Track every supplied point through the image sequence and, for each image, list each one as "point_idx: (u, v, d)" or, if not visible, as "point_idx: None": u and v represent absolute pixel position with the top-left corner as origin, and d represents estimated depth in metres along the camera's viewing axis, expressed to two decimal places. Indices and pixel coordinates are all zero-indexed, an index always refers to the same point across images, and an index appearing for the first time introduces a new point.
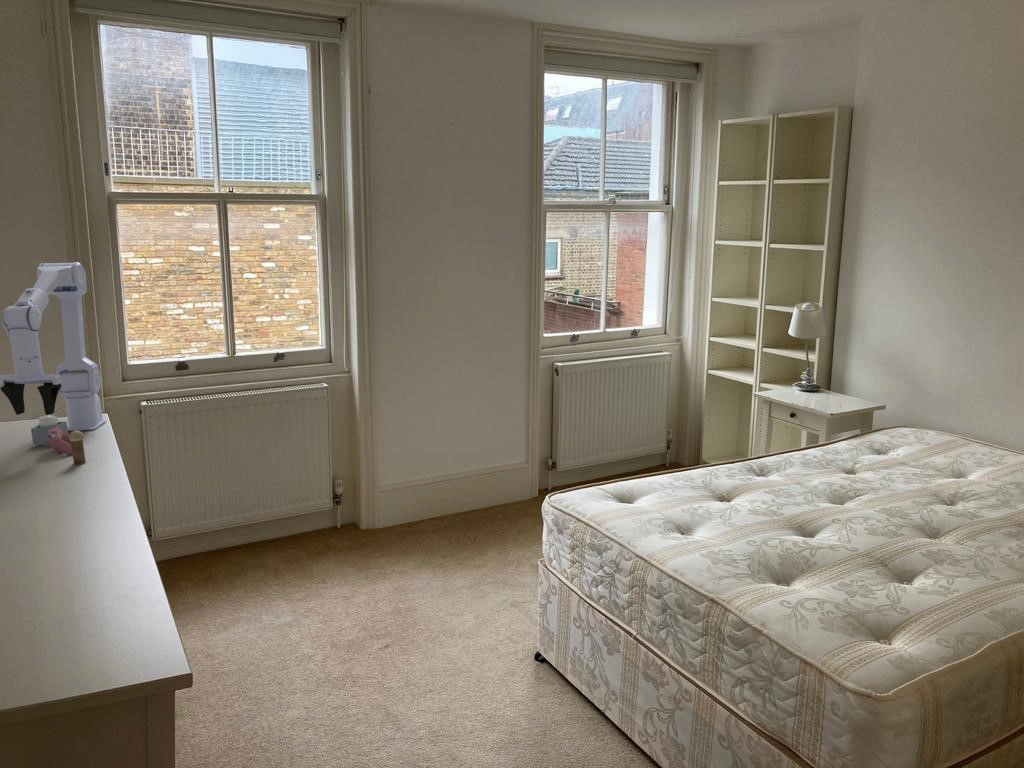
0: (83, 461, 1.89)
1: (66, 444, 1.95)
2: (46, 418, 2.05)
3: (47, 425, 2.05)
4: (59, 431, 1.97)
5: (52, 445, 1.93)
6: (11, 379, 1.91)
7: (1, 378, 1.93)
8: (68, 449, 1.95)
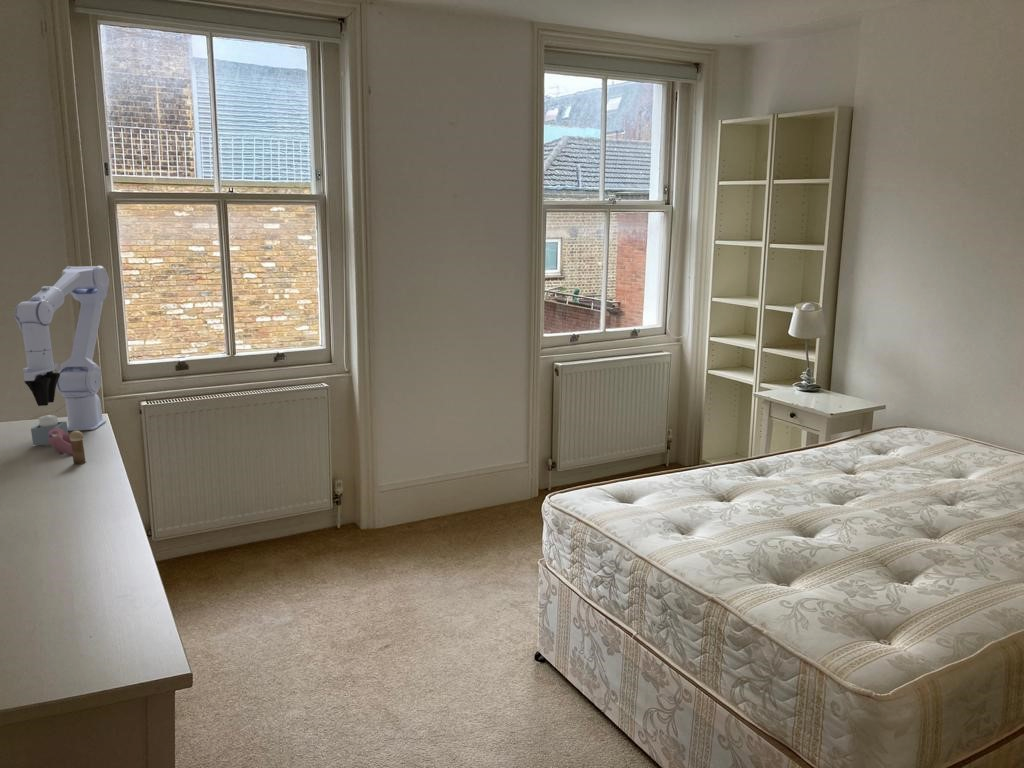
0: (83, 461, 1.89)
1: (67, 444, 1.95)
2: (46, 418, 2.05)
3: (47, 425, 2.05)
4: (60, 431, 1.97)
5: (53, 445, 1.94)
6: None
7: None
8: (69, 449, 1.95)
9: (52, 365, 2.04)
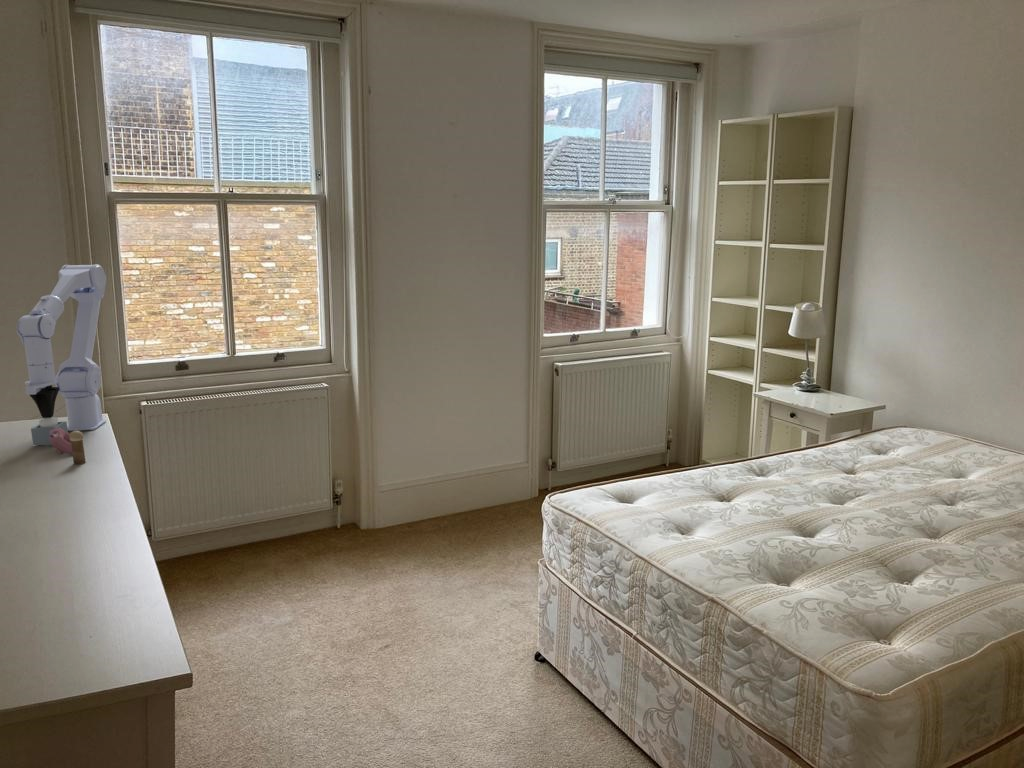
0: (83, 461, 1.89)
1: (68, 444, 1.95)
2: (46, 420, 2.05)
3: None
4: (61, 431, 1.97)
5: (54, 445, 1.94)
6: None
7: None
8: (70, 449, 1.95)
9: (54, 378, 2.04)
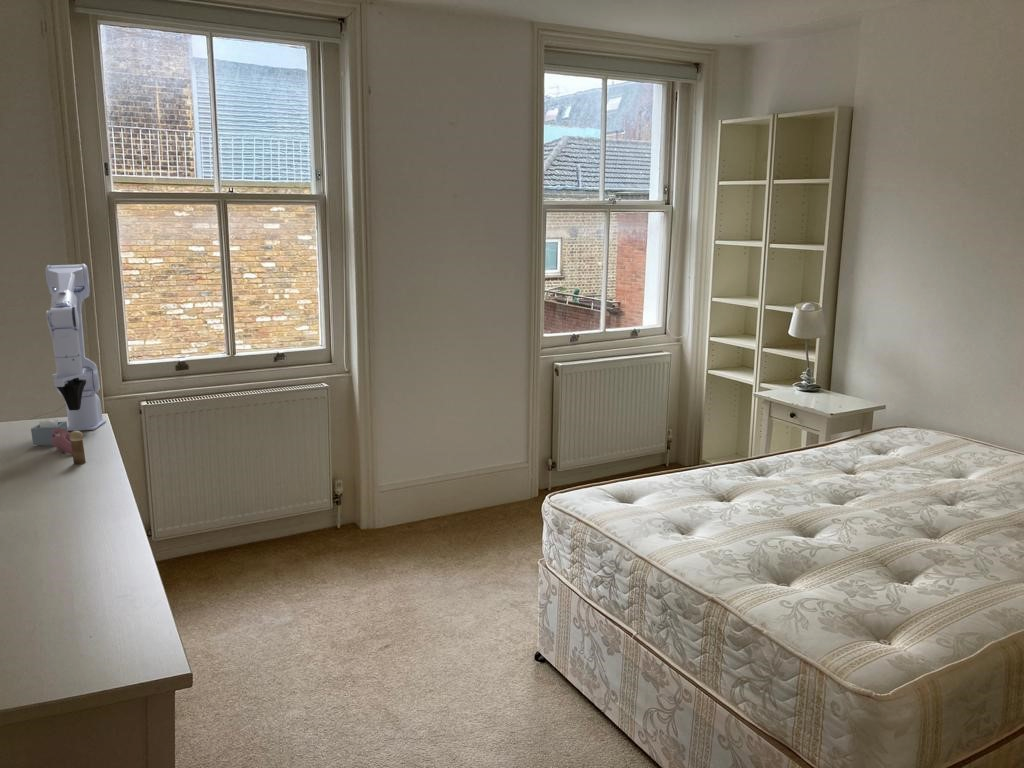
0: (83, 461, 1.89)
1: (70, 443, 1.95)
2: (47, 422, 2.05)
3: None
4: (63, 430, 1.97)
5: (56, 444, 1.94)
6: None
7: None
8: None
9: (81, 371, 2.04)
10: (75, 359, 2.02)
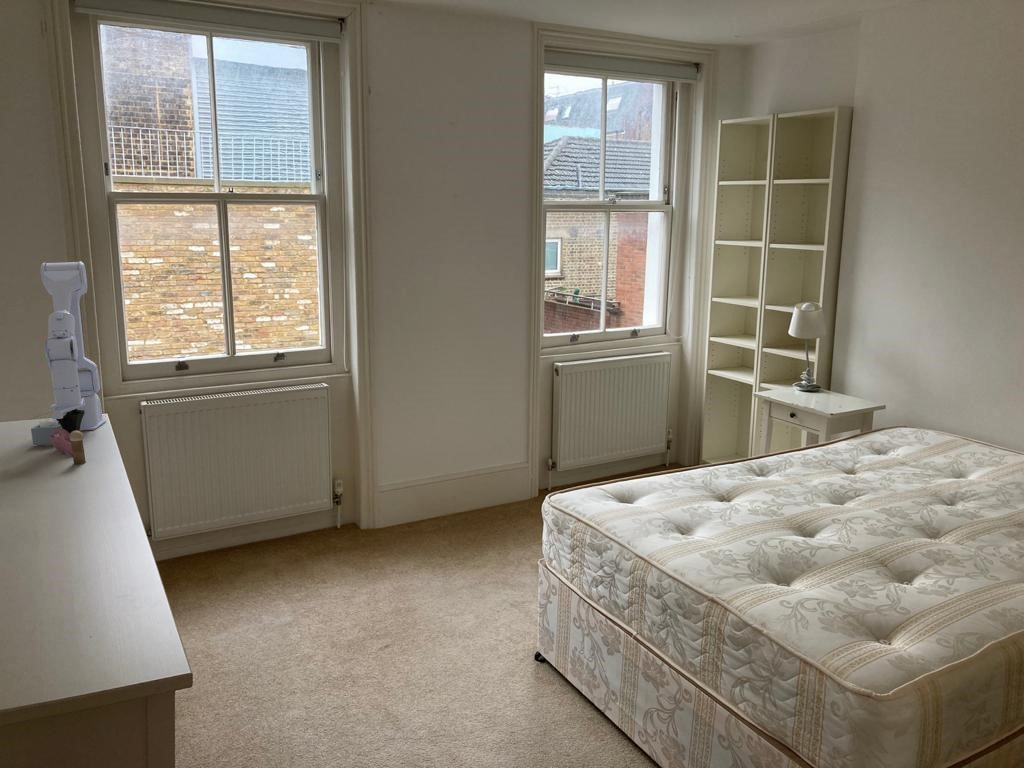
0: (83, 461, 1.89)
1: (69, 444, 1.94)
2: (47, 422, 2.05)
3: None
4: (62, 431, 1.97)
5: (55, 445, 1.93)
6: None
7: None
8: (71, 449, 1.94)
9: (80, 402, 2.02)
10: (74, 390, 2.00)
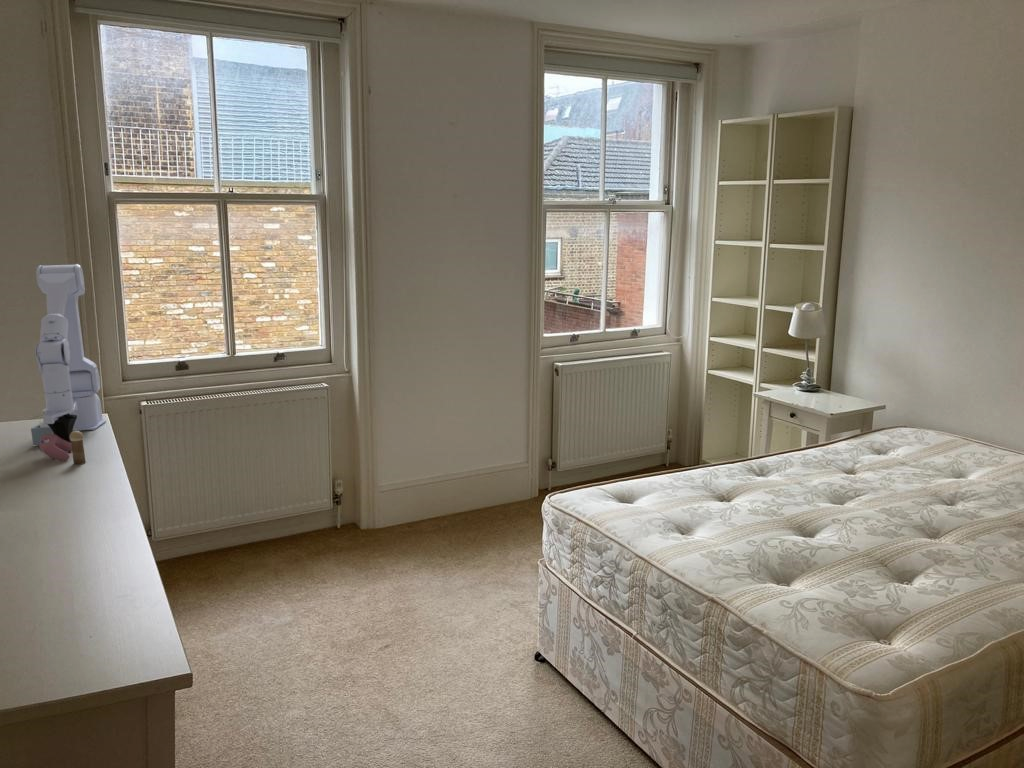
0: (83, 461, 1.89)
1: (59, 450, 1.89)
2: None
3: None
4: (53, 436, 1.92)
5: (44, 451, 1.88)
6: None
7: None
8: (61, 455, 1.90)
9: (72, 406, 1.97)
10: (65, 394, 1.95)
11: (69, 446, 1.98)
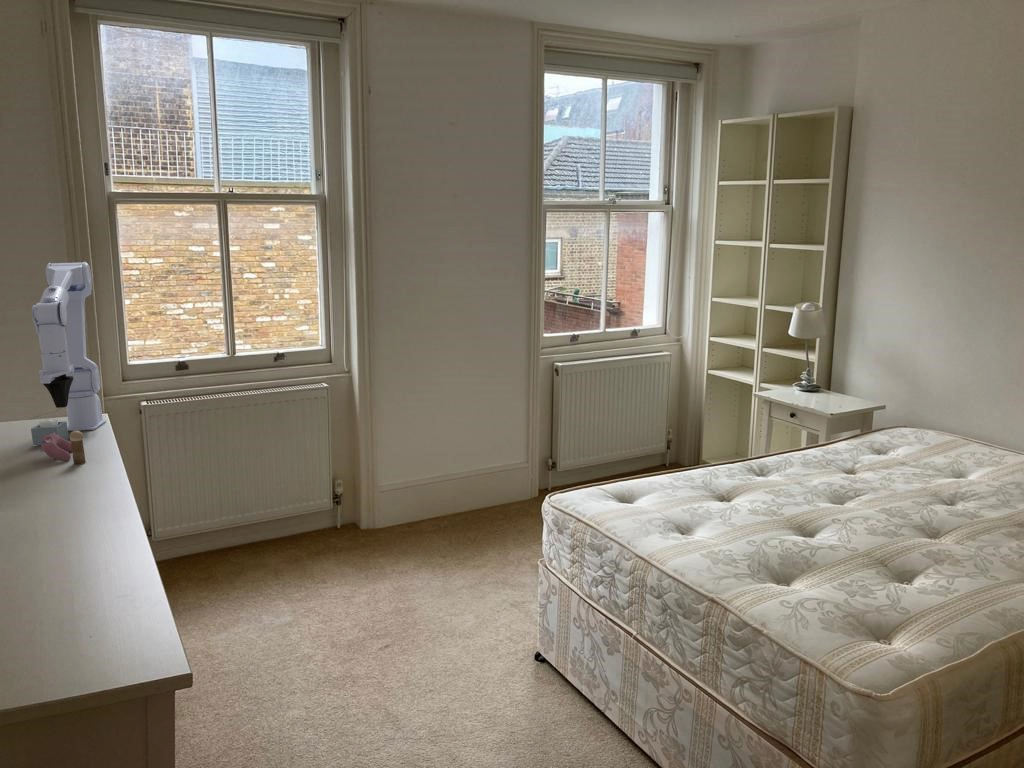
0: (83, 461, 1.89)
1: (60, 450, 1.90)
2: (47, 422, 2.05)
3: None
4: (54, 436, 1.92)
5: (46, 451, 1.88)
6: None
7: None
8: (62, 455, 1.90)
9: (68, 367, 2.00)
10: (62, 355, 1.98)
11: (70, 446, 1.98)
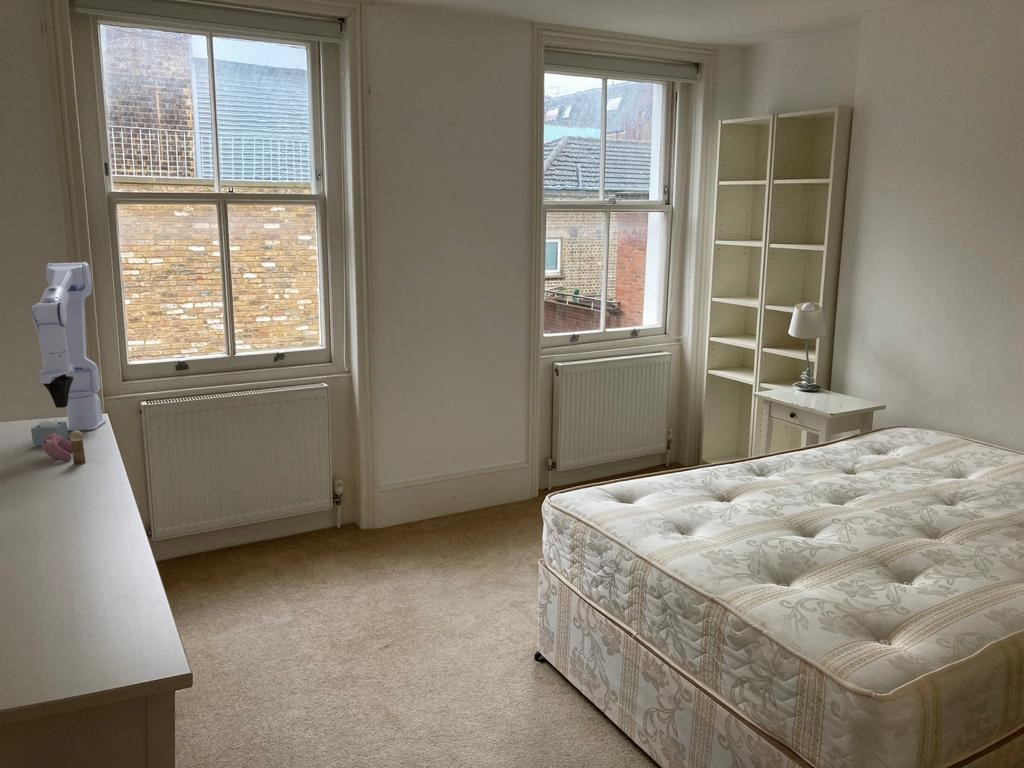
0: (83, 461, 1.89)
1: (61, 450, 1.90)
2: (47, 422, 2.05)
3: None
4: (55, 436, 1.92)
5: (47, 451, 1.88)
6: None
7: None
8: (63, 455, 1.90)
9: (68, 367, 2.00)
10: (62, 355, 1.98)
11: (71, 446, 1.98)
